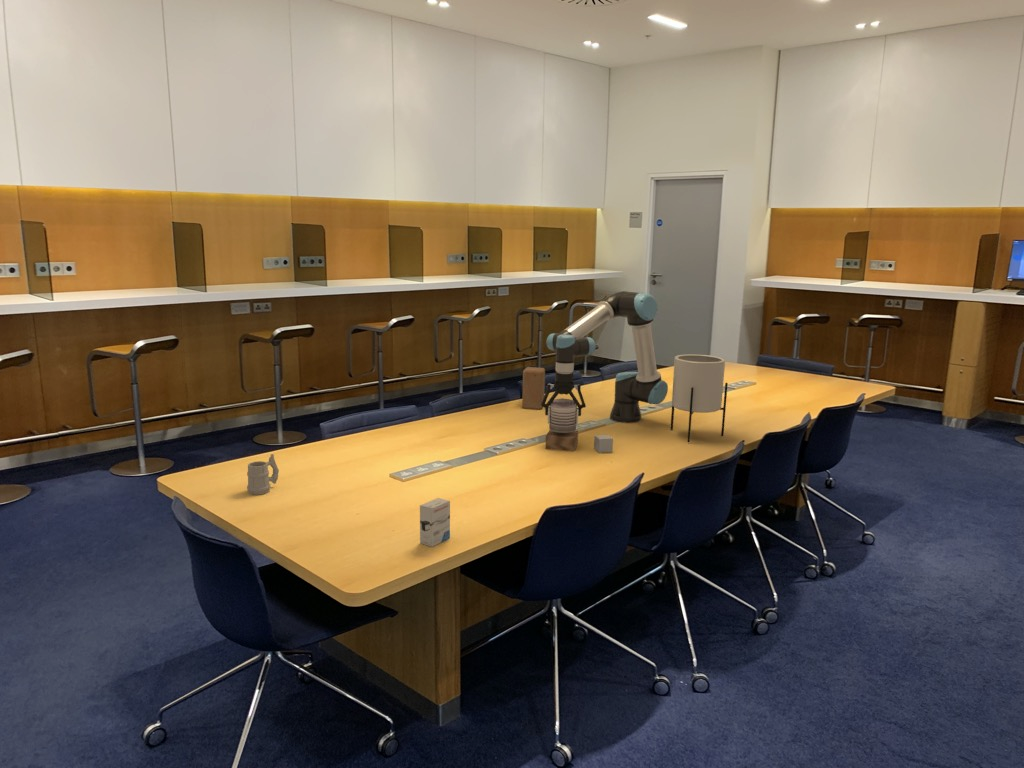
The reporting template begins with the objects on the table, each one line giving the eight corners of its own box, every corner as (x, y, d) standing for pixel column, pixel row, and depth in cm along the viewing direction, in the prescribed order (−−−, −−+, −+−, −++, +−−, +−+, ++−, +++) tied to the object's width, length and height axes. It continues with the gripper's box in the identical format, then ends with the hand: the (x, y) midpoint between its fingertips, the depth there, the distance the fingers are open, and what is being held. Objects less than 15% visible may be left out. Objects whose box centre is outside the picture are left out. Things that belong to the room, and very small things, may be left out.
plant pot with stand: (725, 433, 349) (731, 357, 341) (715, 446, 327) (722, 365, 320) (673, 427, 358) (678, 352, 351) (660, 439, 337) (665, 360, 330)
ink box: (438, 534, 229) (438, 496, 226) (450, 538, 226) (450, 500, 224) (418, 543, 222) (418, 504, 219) (431, 547, 219) (431, 508, 217)
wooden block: (541, 410, 386) (542, 371, 382) (521, 408, 388) (522, 370, 384) (544, 405, 396) (545, 367, 392) (525, 404, 398) (526, 366, 394)
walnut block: (577, 444, 328) (578, 430, 327) (574, 451, 317) (574, 437, 315) (550, 441, 330) (550, 428, 329) (545, 449, 319) (545, 435, 318)
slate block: (607, 448, 322) (607, 434, 321) (612, 452, 316) (613, 438, 315) (593, 449, 320) (594, 435, 319) (598, 453, 315) (599, 439, 313)
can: (579, 427, 325) (580, 400, 323) (572, 434, 315) (573, 405, 312) (553, 424, 329) (554, 397, 327) (545, 431, 319) (546, 403, 316)
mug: (242, 492, 260) (240, 458, 258) (271, 483, 270) (270, 450, 267) (255, 497, 256) (254, 462, 254) (285, 488, 265) (284, 454, 263)
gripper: (592, 371, 320) (590, 421, 325) (535, 369, 321) (534, 420, 325) (593, 374, 313) (591, 426, 318) (536, 373, 314) (534, 424, 318)
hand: (562, 423), depth 321 cm, fingers closed on can, 11 cm apart
